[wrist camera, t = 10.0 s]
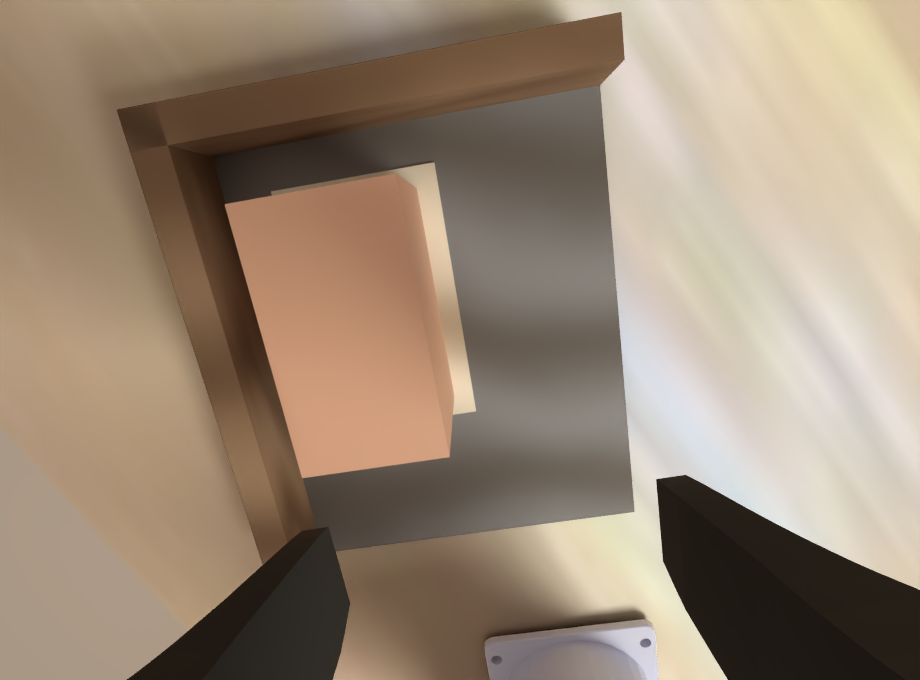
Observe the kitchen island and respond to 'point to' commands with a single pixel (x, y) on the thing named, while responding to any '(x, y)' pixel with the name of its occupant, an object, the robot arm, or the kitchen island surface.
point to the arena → (453, 267)
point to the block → (349, 322)
